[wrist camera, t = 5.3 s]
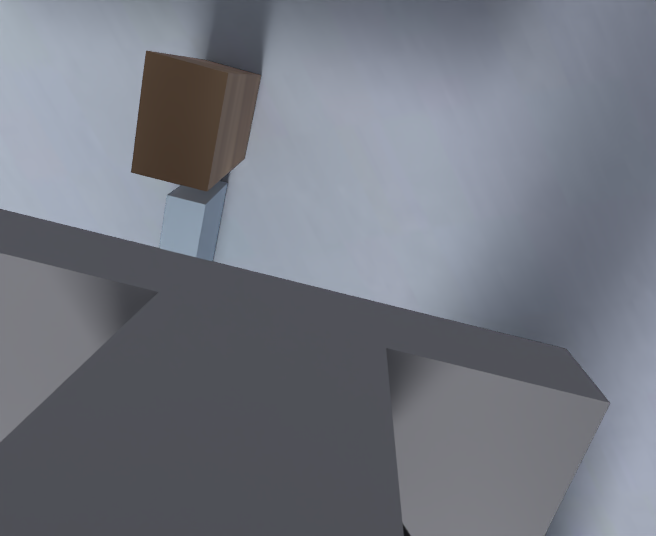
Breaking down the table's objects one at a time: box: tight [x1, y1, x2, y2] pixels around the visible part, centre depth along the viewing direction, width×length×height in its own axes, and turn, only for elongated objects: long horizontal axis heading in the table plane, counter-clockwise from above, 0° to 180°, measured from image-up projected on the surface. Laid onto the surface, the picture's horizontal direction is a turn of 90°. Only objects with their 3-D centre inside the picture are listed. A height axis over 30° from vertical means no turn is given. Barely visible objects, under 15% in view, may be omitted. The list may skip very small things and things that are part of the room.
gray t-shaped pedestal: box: [0, 209, 610, 536], centre depth 8 cm, size 16×5×7 cm, turn 77°
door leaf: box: [159, 181, 228, 261], centre depth 20 cm, size 1×19×4 cm, turn 165°
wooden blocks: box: [131, 51, 261, 192], centre depth 20 cm, size 2×31×6 cm, turn 165°
